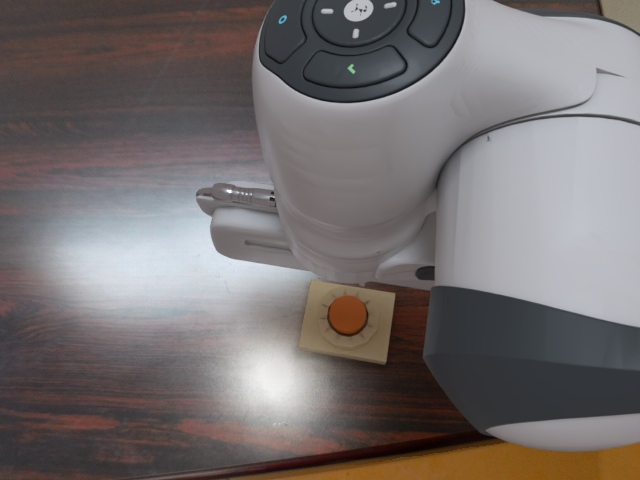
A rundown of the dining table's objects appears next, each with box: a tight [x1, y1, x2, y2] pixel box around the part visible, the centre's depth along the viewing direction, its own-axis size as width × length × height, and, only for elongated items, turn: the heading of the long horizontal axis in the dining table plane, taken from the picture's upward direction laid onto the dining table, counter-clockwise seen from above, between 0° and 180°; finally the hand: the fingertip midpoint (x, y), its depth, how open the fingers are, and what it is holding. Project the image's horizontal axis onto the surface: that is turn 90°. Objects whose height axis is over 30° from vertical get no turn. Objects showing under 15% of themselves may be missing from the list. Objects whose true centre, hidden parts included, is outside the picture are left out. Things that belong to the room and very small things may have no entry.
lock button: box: [330, 295, 366, 334], centre depth 59 cm, size 4×4×2 cm
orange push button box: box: [297, 279, 396, 366], centre depth 61 cm, size 10×8×4 cm
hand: (349, 275), depth 46 cm, fingers closed
